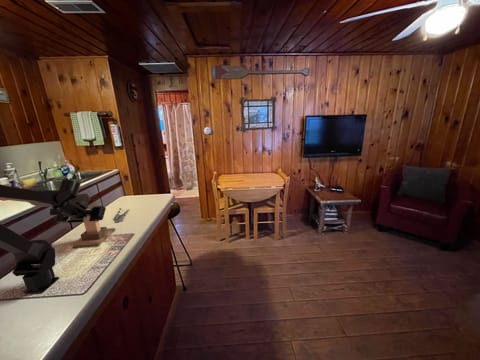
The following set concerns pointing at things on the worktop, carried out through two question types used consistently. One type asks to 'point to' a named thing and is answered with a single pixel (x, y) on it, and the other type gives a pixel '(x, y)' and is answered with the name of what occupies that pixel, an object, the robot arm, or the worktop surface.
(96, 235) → the square socket base
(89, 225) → the clay rectangular block
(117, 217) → the driftwood
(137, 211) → the worktop surface
